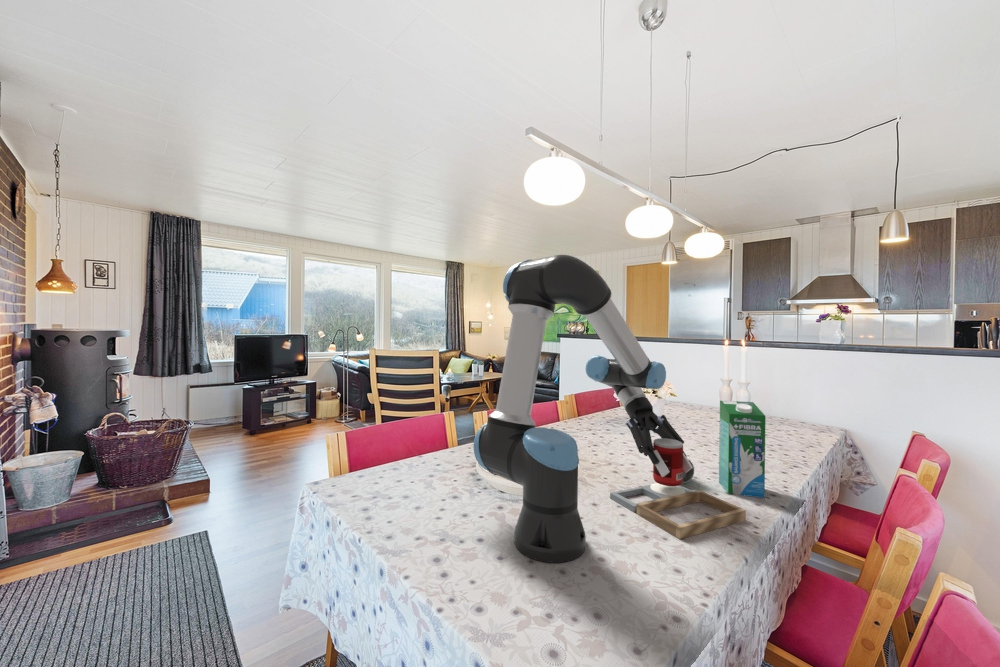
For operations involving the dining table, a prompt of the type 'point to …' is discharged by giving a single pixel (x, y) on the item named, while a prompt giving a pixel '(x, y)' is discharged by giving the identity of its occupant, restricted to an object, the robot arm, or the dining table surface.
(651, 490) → the grey rectangular frame
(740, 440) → the milk carton
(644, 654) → the dining table surface
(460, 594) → the dining table surface
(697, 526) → the oak pen
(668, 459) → the canned food
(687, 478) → the ceramic mug
